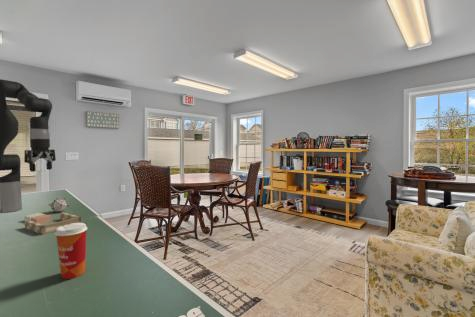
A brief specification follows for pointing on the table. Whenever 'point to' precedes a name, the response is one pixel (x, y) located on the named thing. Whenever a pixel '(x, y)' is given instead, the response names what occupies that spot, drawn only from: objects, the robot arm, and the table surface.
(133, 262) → the table surface
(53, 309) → the table surface
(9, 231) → the table surface
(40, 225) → the box
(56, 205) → the game die
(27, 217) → the cream tile
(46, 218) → the terracotta tile
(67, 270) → the paper cup
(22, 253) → the table surface
